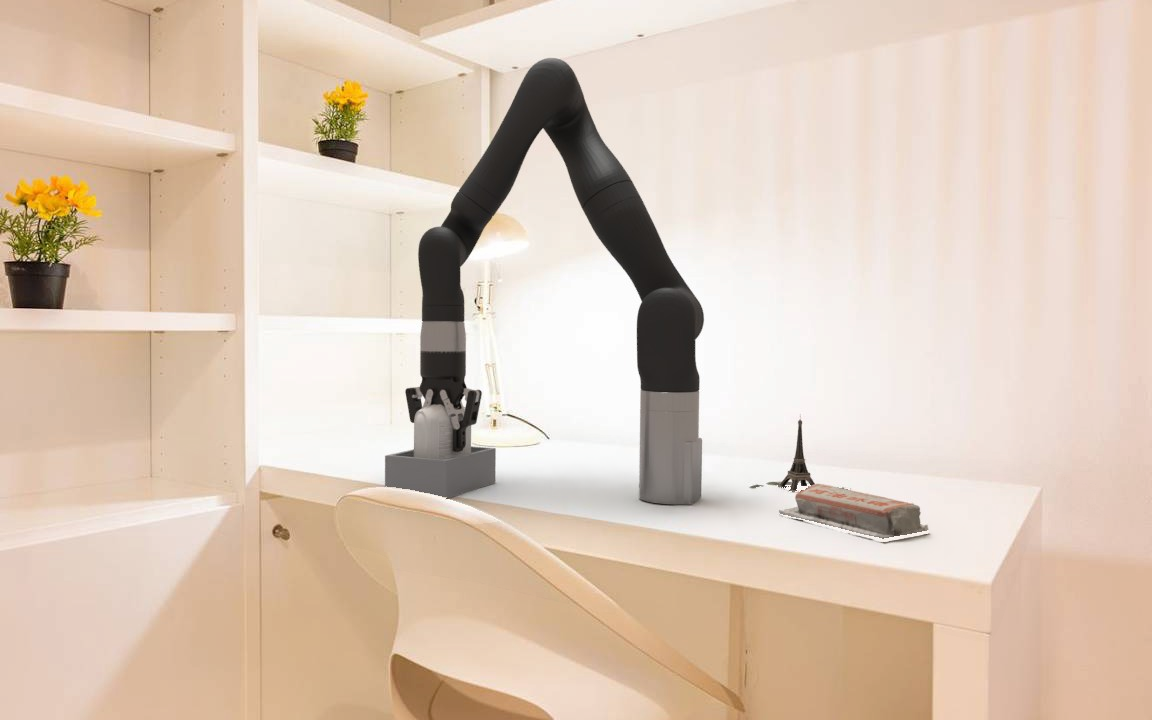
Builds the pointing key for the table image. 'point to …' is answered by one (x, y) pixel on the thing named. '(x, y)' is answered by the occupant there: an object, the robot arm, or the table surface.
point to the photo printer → (436, 434)
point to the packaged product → (856, 511)
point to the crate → (441, 472)
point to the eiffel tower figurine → (795, 468)
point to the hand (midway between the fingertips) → (442, 449)
